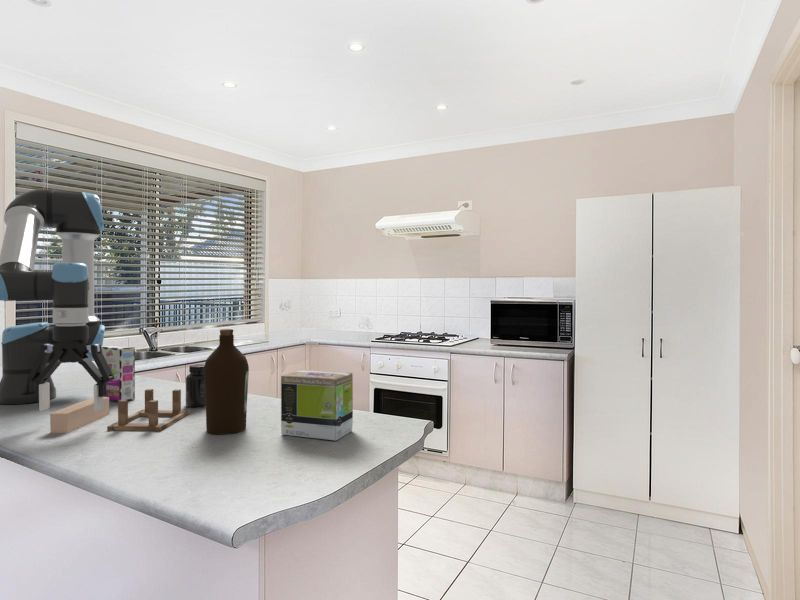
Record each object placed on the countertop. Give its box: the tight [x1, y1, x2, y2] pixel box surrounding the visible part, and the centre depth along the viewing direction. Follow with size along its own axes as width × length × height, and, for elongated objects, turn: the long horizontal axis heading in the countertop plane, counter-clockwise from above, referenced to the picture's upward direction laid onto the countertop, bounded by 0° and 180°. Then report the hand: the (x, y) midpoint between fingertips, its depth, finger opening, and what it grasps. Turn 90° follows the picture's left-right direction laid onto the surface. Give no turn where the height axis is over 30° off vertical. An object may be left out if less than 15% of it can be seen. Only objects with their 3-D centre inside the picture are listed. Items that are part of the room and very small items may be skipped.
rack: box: [106, 388, 191, 432], centre depth 133 cm, size 17×13×7 cm
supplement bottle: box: [185, 363, 206, 409], centre depth 151 cm, size 7×7×12 cm
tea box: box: [280, 369, 354, 442], centre depth 125 cm, size 15×10×15 cm, turn 71°
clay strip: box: [49, 396, 110, 434], centre depth 131 cm, size 18×4×5 cm, turn 0°
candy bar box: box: [101, 345, 136, 402], centre depth 158 cm, size 11×5×16 cm, turn 61°
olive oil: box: [204, 328, 250, 435], centre depth 127 cm, size 11×11×25 cm
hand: (71, 409), depth 127 cm, fingers open, 13 cm apart
